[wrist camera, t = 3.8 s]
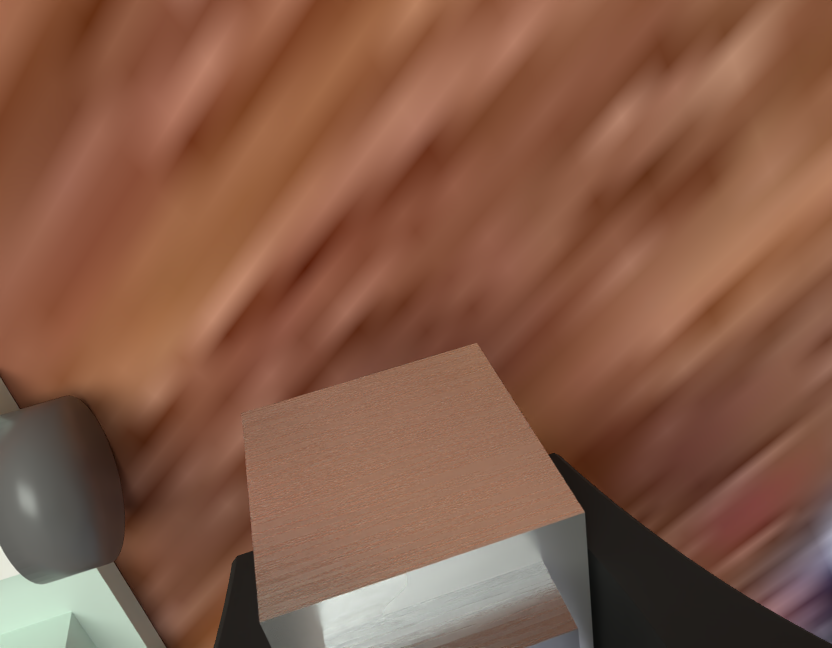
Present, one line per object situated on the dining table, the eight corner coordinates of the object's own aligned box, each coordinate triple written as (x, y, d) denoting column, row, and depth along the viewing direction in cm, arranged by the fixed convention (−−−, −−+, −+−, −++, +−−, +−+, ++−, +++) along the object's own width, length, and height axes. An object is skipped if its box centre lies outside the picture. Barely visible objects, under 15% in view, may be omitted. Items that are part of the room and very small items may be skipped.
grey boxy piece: (504, 521, 14) (630, 774, 10) (310, 586, 14) (358, 882, 10) (477, 343, 12) (626, 577, 8) (241, 413, 11) (266, 705, 7)
